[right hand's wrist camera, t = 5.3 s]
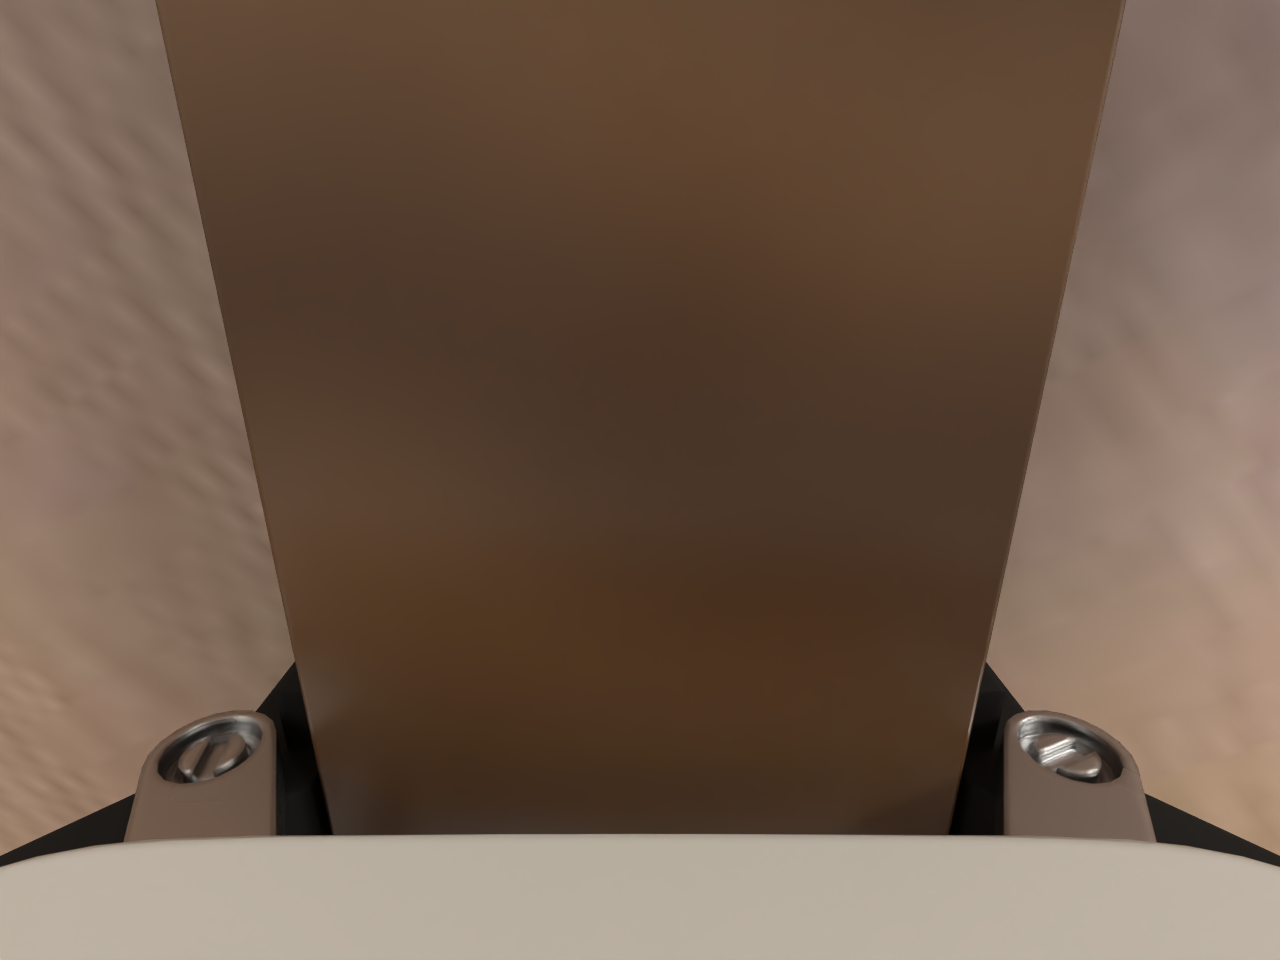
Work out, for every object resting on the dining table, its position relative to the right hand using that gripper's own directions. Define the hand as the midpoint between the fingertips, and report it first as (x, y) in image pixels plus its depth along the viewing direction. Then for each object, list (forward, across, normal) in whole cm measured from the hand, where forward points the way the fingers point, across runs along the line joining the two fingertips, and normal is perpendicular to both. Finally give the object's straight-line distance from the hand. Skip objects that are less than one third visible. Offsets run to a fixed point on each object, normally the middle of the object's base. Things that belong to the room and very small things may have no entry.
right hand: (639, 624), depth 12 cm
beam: (+1, 0, -28) cm, 28 cm away
